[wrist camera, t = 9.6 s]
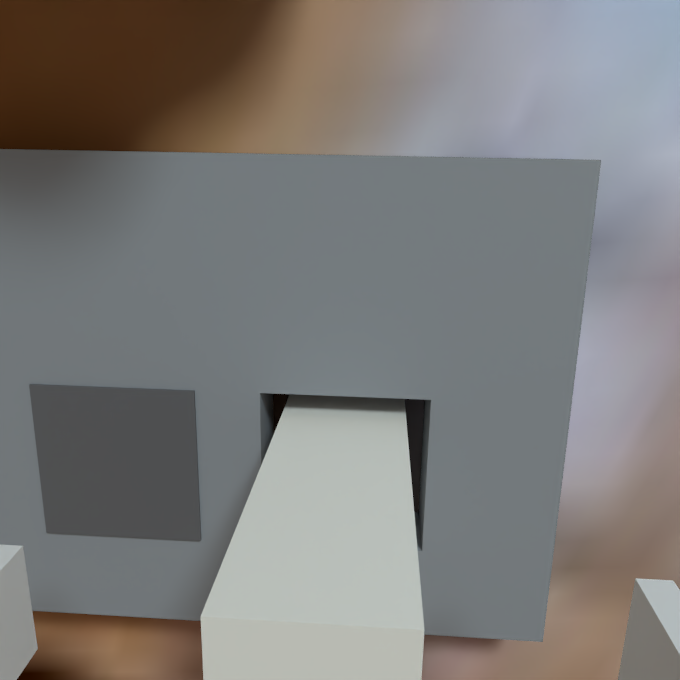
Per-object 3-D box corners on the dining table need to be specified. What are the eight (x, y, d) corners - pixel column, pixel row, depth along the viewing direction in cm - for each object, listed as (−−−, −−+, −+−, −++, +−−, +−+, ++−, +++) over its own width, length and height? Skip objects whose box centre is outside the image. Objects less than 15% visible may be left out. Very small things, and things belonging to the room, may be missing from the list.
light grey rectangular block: (291, 389, 23) (200, 616, 12) (404, 394, 23) (424, 629, 11) (292, 490, 24) (208, 789, 13) (399, 495, 24) (413, 804, 13)
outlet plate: (-36, 148, 22) (-91, 147, 19) (575, 159, 20) (602, 160, 18) (19, 566, 26) (-20, 609, 23) (527, 594, 25) (543, 644, 22)
